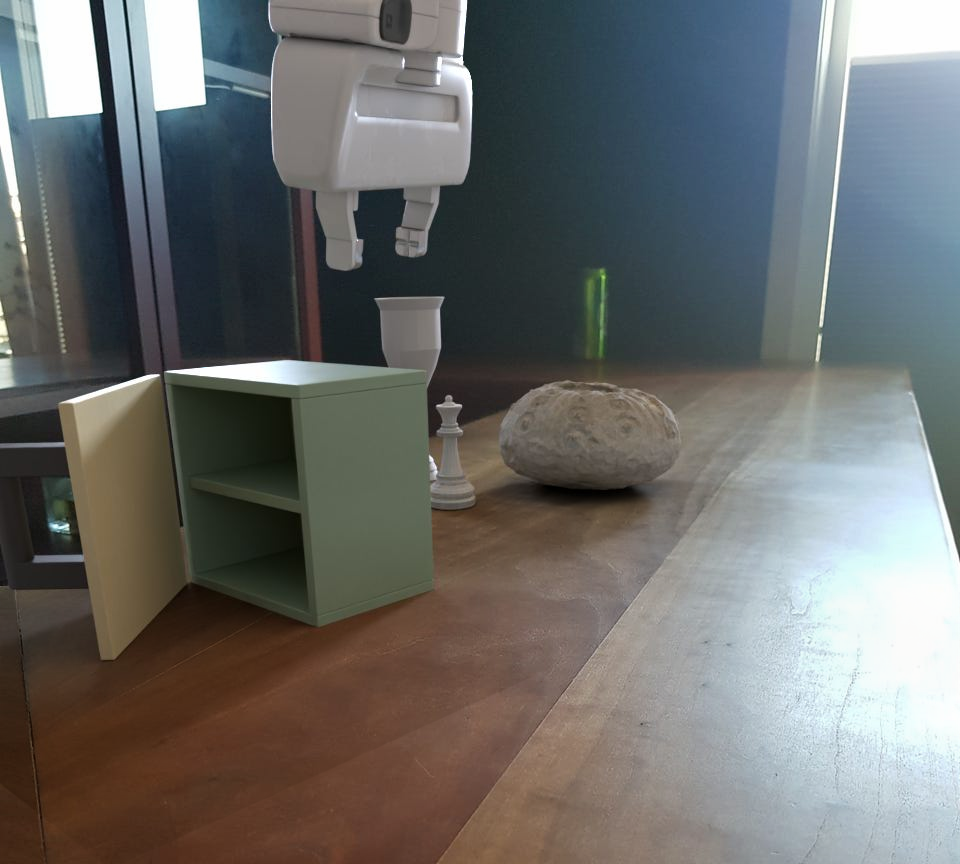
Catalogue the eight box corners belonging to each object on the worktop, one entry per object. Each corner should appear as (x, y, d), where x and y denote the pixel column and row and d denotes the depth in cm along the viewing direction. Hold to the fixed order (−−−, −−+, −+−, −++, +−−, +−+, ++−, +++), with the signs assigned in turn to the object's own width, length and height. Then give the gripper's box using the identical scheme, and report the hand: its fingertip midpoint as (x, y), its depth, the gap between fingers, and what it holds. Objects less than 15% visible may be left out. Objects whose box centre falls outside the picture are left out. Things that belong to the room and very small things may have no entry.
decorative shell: (678, 470, 105) (683, 374, 101) (680, 508, 88) (686, 395, 85) (512, 468, 108) (512, 374, 104) (485, 504, 91) (483, 394, 88)
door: (7, 662, 55) (-46, 405, 50) (101, 584, 69) (67, 376, 64) (114, 660, 55) (72, 402, 50) (187, 583, 69) (160, 374, 64)
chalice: (414, 468, 109) (406, 296, 102) (463, 474, 105) (458, 296, 98) (370, 480, 103) (359, 299, 97) (420, 486, 99) (412, 299, 93)
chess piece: (419, 507, 90) (415, 397, 87) (441, 498, 94) (438, 391, 91) (462, 511, 89) (459, 399, 85) (483, 501, 92) (481, 393, 89)
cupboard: (318, 628, 60) (298, 384, 55) (190, 583, 70) (163, 371, 64) (434, 590, 67) (426, 370, 62) (303, 553, 76) (287, 359, 71)
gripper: (419, 30, 68) (406, 243, 75) (249, -11, 51) (251, 268, 58) (503, 39, 66) (482, 255, 73) (356, -2, 49) (346, 286, 56)
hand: (379, 262), depth 65 cm, fingers open, 8 cm apart
